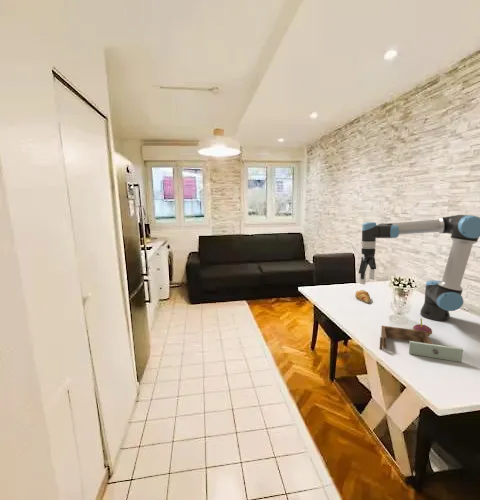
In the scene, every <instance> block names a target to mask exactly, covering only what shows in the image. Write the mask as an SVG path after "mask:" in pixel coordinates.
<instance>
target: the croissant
mask: <svg viewBox="0 0 480 500" xmlns="http://www.w3.org/2000/svg"><path fill="white" fill-rule="evenodd" d="M355 298H356V299H357V300H358V299H359V300H358V301H361V302H364V303H366V304H367V303H368V304H369V302H370V301H371V296H370V294H369V292H367V291H366V290H364V289H362V290H361V289H360V290H357V291H356V292H355Z"/></svg>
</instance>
